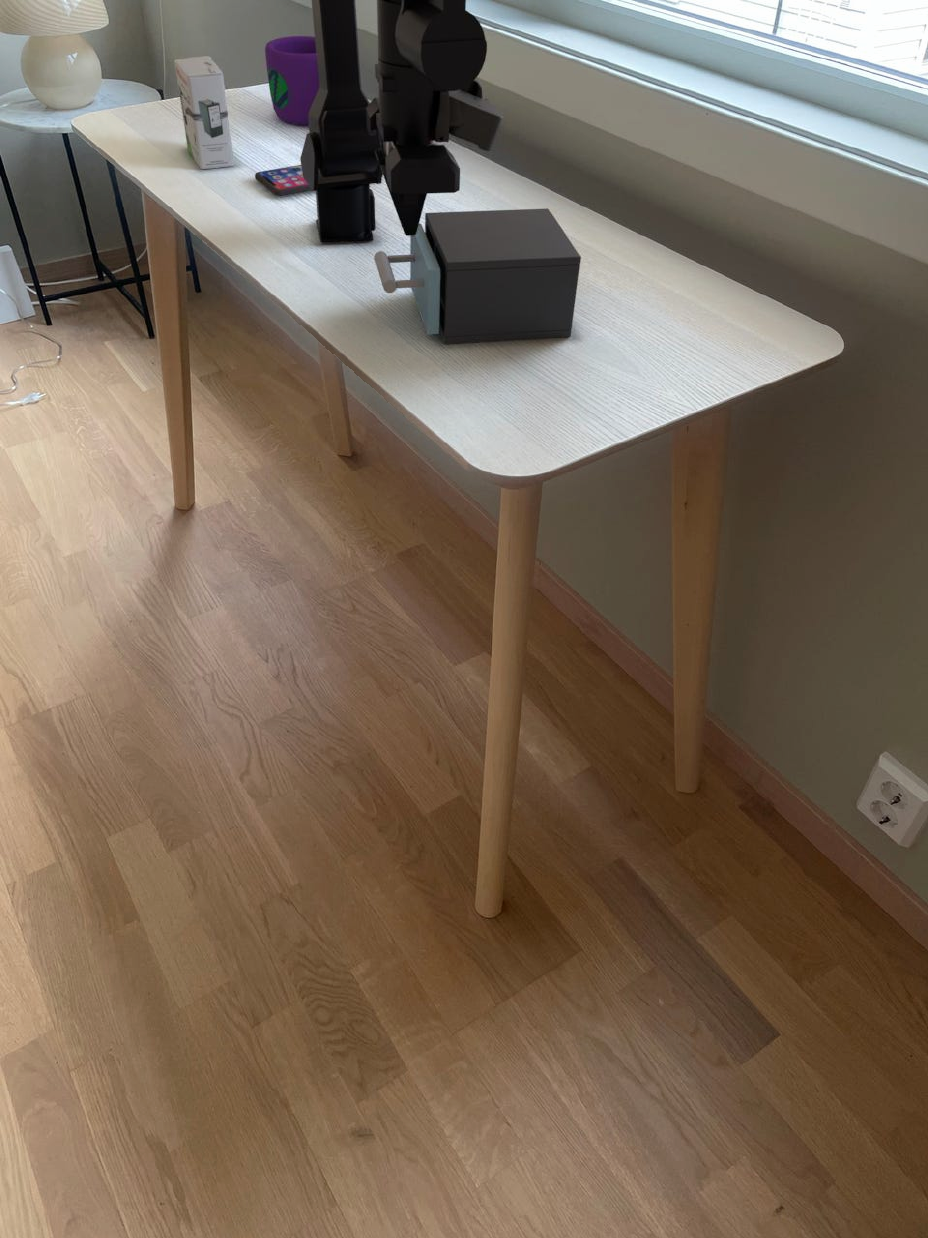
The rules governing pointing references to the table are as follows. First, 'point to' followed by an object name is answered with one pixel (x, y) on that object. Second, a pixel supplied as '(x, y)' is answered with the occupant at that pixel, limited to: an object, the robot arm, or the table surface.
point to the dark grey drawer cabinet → (504, 275)
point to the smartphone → (284, 181)
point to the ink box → (204, 112)
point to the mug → (292, 77)
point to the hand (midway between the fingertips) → (410, 233)
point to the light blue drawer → (418, 277)
